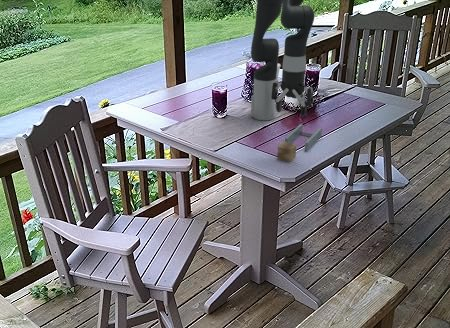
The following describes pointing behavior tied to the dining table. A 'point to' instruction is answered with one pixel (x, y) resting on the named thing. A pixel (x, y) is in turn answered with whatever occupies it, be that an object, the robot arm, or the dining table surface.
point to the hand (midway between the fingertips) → (290, 113)
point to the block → (286, 151)
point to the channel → (298, 131)
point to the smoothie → (277, 71)
